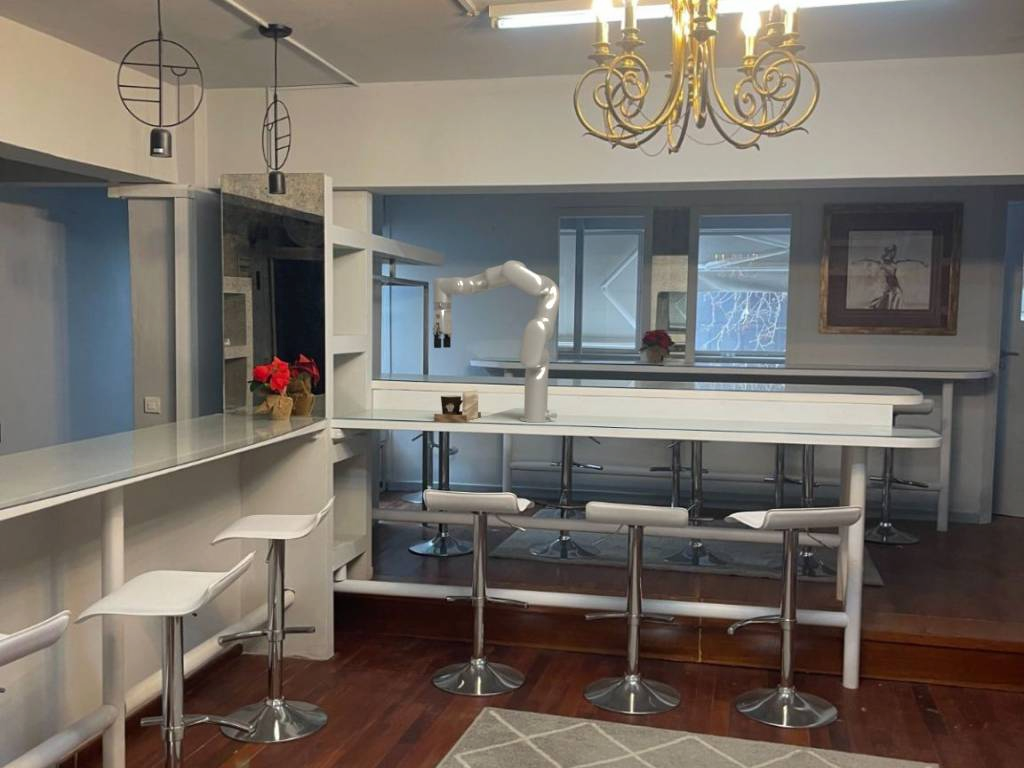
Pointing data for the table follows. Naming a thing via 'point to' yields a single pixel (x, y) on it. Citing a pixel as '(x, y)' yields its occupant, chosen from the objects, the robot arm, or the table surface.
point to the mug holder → (452, 418)
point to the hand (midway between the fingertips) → (442, 347)
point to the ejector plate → (470, 405)
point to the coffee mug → (451, 404)
